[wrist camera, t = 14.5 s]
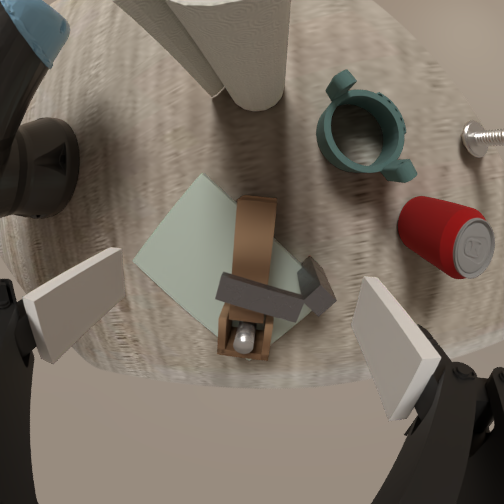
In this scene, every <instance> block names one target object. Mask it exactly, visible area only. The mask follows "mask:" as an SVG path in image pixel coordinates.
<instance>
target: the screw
mask: <svg viewBox="0 0 504 504" xmlns="http://www.w3.org/2000/svg"><path fill="white" fill-rule="evenodd" d="M461 137H462V142H463V145H464V146H465V147H466V148H467V150H468V152H469V153H470V154H471V155H472V156H474V157H477V158H481V157H483V156H484V155H485V154H486V153H487V150H488V146H489V145H490V146H492V145H493V146H494V145H496V146H497V145H504V129H503V130H502V129H500V130H499V129H497V130H491V131H490V130H489V131H485V130H484V128H483V127H482V125H481V124H480V123H478V122H477V121H468V122H467V123H466V124H465V125H464V128H463V133H462V134H461Z"/></svg>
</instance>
